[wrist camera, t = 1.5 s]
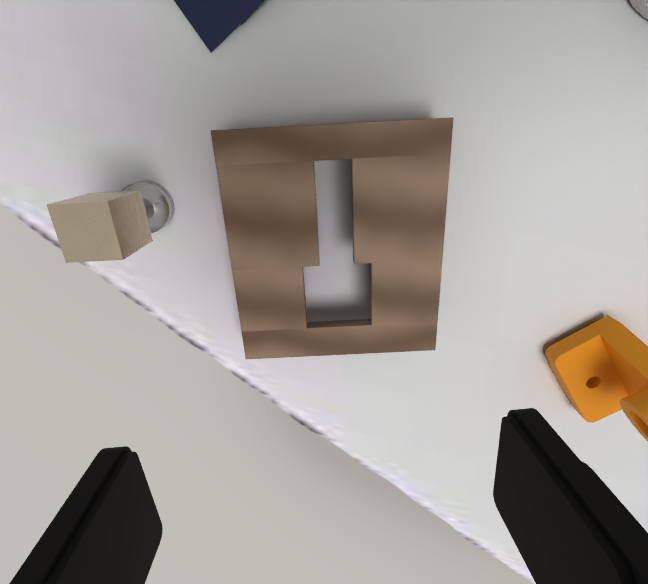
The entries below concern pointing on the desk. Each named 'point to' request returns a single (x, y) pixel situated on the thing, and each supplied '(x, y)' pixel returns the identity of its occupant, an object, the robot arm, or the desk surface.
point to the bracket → (603, 372)
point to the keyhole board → (368, 231)
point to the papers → (216, 17)
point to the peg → (110, 222)
